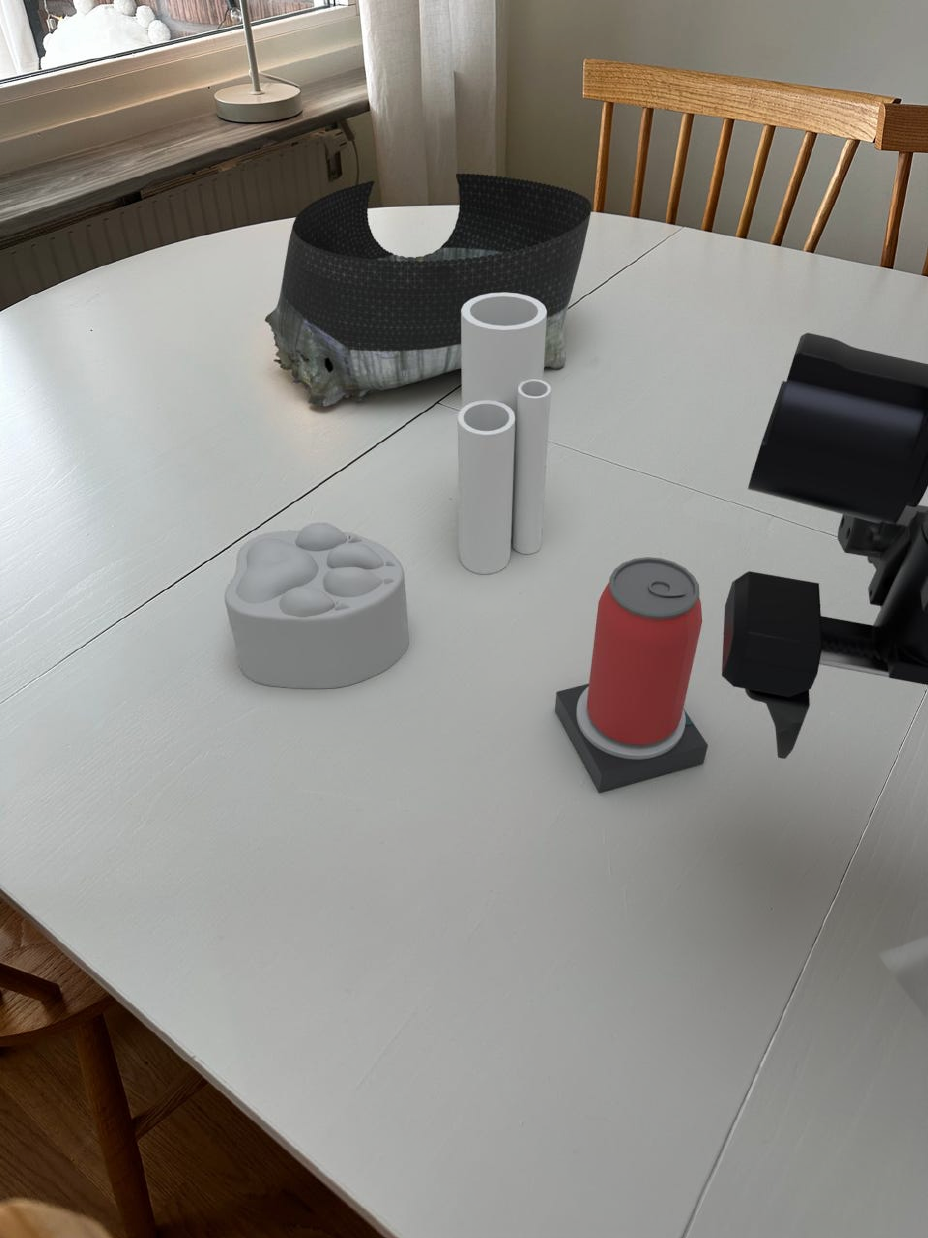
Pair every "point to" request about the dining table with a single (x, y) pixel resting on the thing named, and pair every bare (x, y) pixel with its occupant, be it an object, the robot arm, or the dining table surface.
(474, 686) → the dining table surface
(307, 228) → the basket
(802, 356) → the robot arm
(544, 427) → the vase
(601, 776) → the scale
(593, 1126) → the dining table surface
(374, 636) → the lumpy-topped squat cylinder
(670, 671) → the beer can
